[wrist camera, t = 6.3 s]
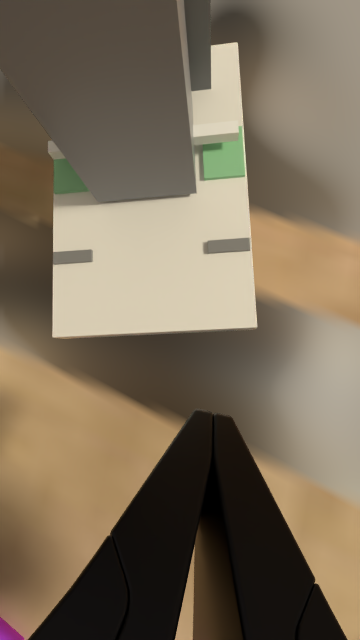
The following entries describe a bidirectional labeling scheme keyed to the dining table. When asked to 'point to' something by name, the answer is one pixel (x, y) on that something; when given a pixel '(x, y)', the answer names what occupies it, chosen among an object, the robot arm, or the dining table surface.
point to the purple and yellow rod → (8, 632)
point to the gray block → (110, 91)
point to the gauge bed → (163, 229)
